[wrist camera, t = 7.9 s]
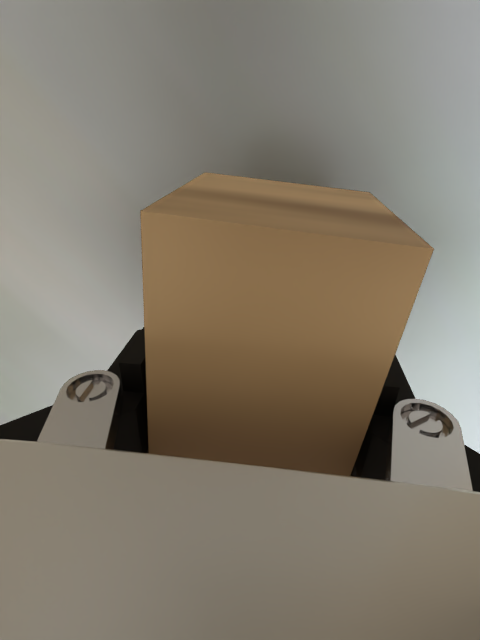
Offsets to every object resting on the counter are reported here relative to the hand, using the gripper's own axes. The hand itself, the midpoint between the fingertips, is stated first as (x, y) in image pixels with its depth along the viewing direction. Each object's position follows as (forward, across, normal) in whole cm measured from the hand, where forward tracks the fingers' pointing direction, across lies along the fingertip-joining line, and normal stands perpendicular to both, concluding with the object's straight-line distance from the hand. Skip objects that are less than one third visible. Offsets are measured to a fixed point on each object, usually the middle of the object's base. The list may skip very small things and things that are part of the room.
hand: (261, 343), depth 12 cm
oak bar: (0, 0, 0) cm, 0 cm away
